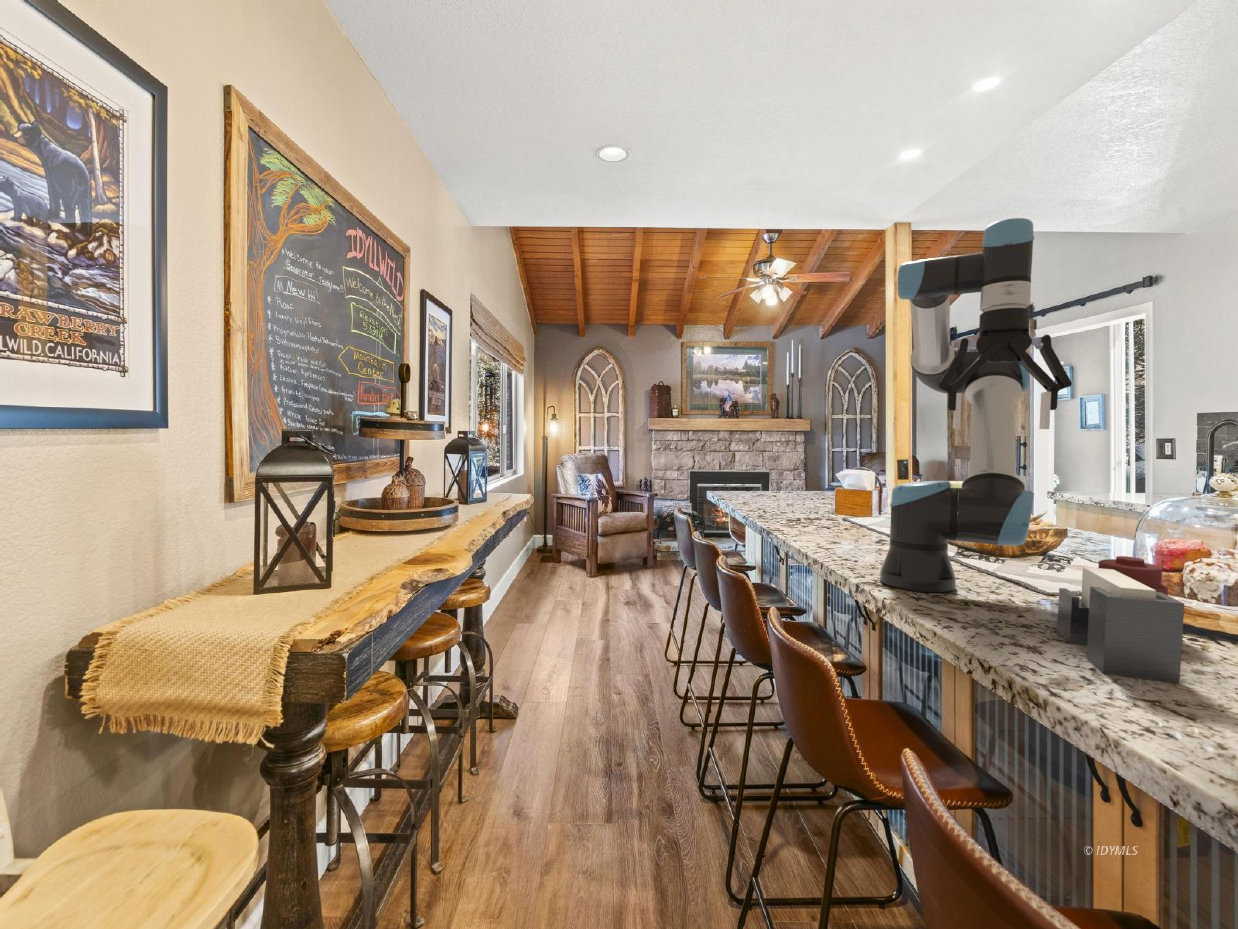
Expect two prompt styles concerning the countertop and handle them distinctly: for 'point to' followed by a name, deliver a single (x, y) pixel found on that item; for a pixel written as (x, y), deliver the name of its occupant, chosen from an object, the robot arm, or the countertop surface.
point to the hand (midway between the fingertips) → (999, 429)
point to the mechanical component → (1137, 571)
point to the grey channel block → (1072, 618)
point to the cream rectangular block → (1113, 584)
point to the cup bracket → (1135, 635)
